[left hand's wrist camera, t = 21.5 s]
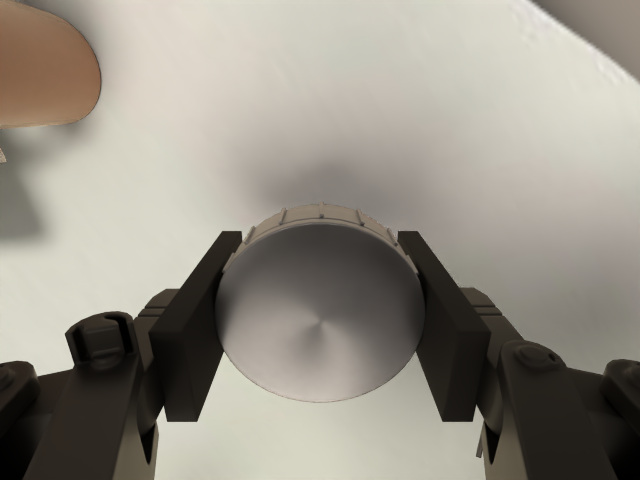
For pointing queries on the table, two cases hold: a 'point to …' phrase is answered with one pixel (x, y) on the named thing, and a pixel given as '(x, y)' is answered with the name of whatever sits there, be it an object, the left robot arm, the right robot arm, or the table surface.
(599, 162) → the table surface
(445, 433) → the table surface
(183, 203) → the table surface
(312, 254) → the lid
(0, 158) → the right robot arm
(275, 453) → the table surface
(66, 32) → the jar
